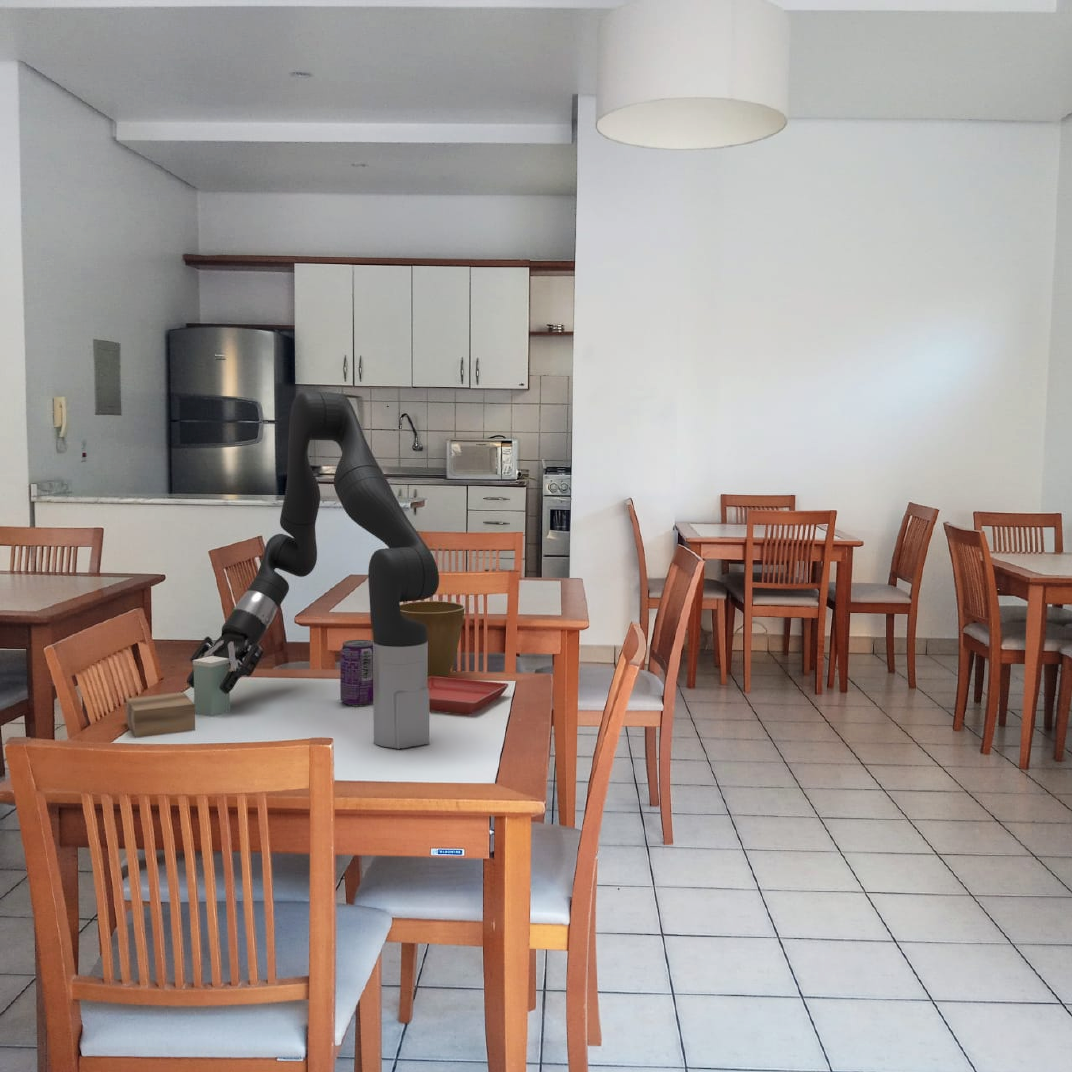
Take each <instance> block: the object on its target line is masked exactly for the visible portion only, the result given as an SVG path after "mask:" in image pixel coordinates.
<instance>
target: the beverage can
mask: <svg viewBox="0 0 1072 1072" xmlns="http://www.w3.org/2000/svg"><path fill="white" fill-rule="evenodd" d="M339 653H340V654H339V657H340V658H339V659H340V662H339V663H340V664H339V667H340V668H339V669H340V670H339V671H340V676H339V677H340V678H339V679H340V680H339V681H340V684H339V686H340V693H339V694H340V701H341V702H343V704H344V703H345V704H346V705H348V706H352V705H355V706H356V705H357V706H358V707H361V706H360V705H362V706H368V705H371V704H372V703H373V640H370V639H351V640H345V641H343V642H342V647H341V649H340V651H339ZM370 703H371V704H370ZM367 704H368V705H367Z"/></svg>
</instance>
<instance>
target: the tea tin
mask: <svg viewBox="0 0 1072 1072" xmlns="http://www.w3.org/2000/svg"><path fill="white" fill-rule="evenodd" d="M200 658H201V657H200ZM200 658H198V659H196V660H193V663H192V666H193V669H194V688H193V695H194V697H193V699H194V700H193V701H194V702H193V703H194V704H195V714H196V713H198V715H201V714H203V716H209V717H215V716H217V715H222V714H225V713H228V712H230V711H231V709H230V708H231V707H230V706H231V704H230V702H231V701H230V698H231V697H230V695H231V694H230V692H231V691H230V692H229V693H228V694H225V693H223V692H222V691H221V690H220V685H221V683H222V682H223V680H224V678H225V677H226V675H227V674H228V672H229V671H230V665H229V663H230V661H229V658H222V657H216V656H214V655H212V656H209V657H205V658H201V659H200Z"/></svg>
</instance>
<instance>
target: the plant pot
mask: <svg viewBox="0 0 1072 1072" xmlns="http://www.w3.org/2000/svg"><path fill="white" fill-rule="evenodd" d="M465 608H466V607H465V605H464V604H462V603H458V602H453V601H443V600H419V601H409V602H403V603H400V610H401V614H402V615H403V616H404V617H406V618H408V619H411V620H414V621H418V622H421V623H423V624H425V625H426V626H427V630H428V677H443V678H449V676H450V673H451V670H452V667H453V665H454V661H455V660H456V659H455V658H456V655H457V652H458V647H459V643H460V638H461V634H462V628H463V622H464V616H465V611H466V609H465Z"/></svg>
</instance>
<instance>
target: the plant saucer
mask: <svg viewBox="0 0 1072 1072" xmlns="http://www.w3.org/2000/svg"><path fill="white" fill-rule="evenodd" d="M509 684H510V683H506V682H496V681H488V680H487V681H486V680H474V679H464V678H463V679H462V678H454V677H448V678H443V677H428V689H429V712H436V713H446V712H449V713H448V714H455V713H458V714H457V715H465V714H466V715H465V716H468V715H469V714H470V715H472V714H474V713H476V712H477V711H479V710H481V709H482V708H485V707H486V706H488V705H490V704H491V703H493V702H495V701H496V700H498V699H499V698H500V697H501V696H502V695H503V694H504V692H505V691H506V690H507V688H508V687H509ZM473 712H474V713H473ZM470 715H469V716H470Z"/></svg>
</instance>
